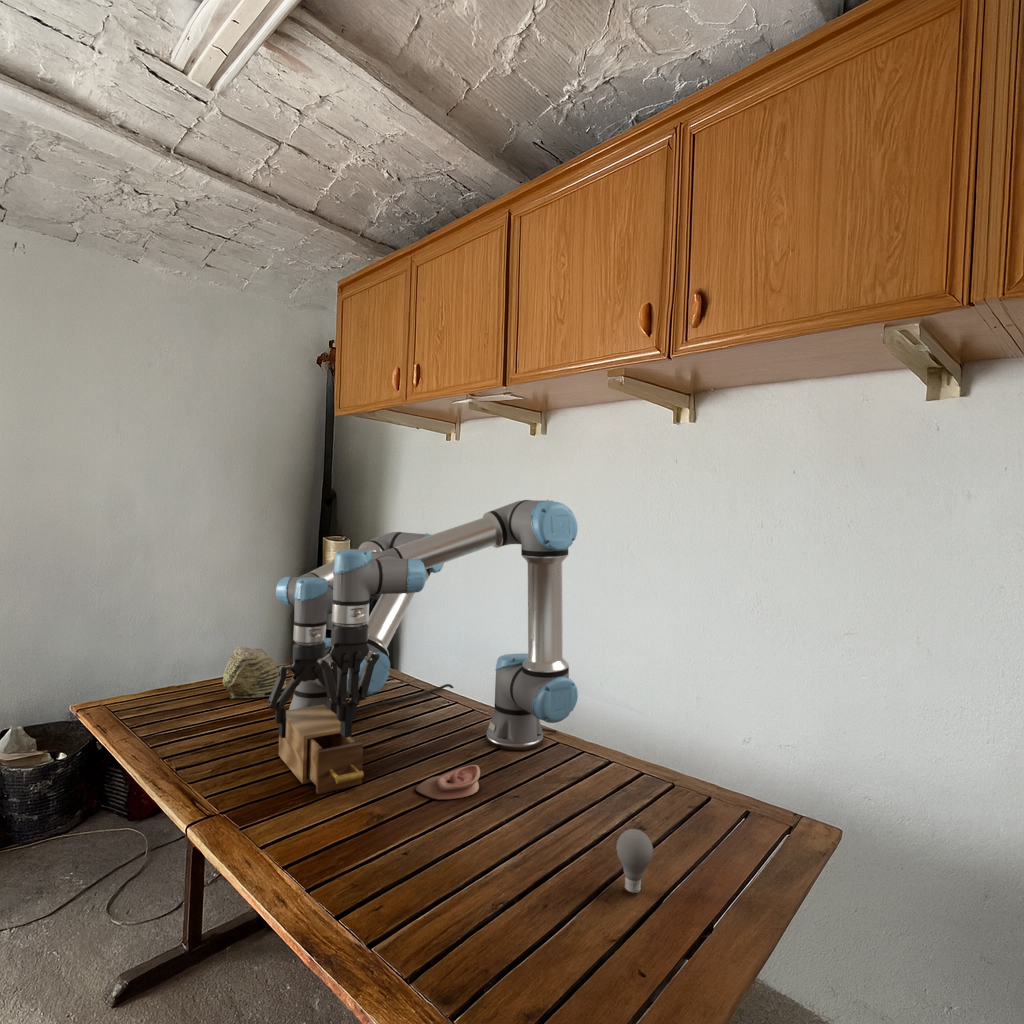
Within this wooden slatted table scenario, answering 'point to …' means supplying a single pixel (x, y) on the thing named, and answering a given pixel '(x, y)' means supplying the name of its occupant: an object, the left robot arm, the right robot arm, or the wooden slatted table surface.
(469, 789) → the anatomical model
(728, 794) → the wooden slatted table surface
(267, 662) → the fossil
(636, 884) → the light bulb
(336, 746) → the drawer
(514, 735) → the right robot arm
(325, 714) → the cabinet
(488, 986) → the wooden slatted table surface
